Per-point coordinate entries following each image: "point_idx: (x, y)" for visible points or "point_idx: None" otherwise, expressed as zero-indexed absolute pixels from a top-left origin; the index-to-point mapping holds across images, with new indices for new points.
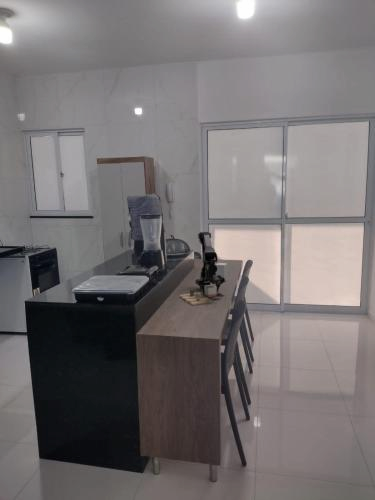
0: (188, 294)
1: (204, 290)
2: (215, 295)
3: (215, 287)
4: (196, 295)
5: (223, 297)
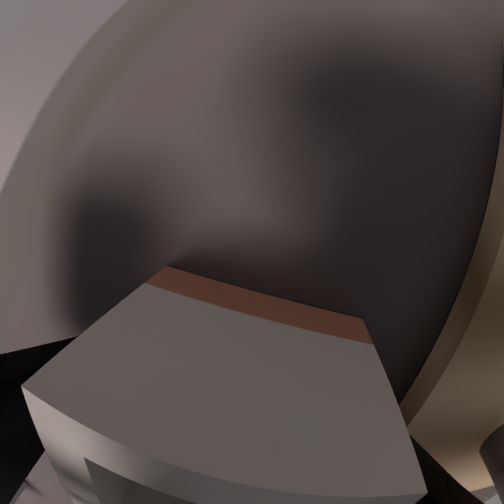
0: (468, 480)
1: None
2: (189, 279)
3: (76, 399)
4: (476, 427)
5: (135, 91)
